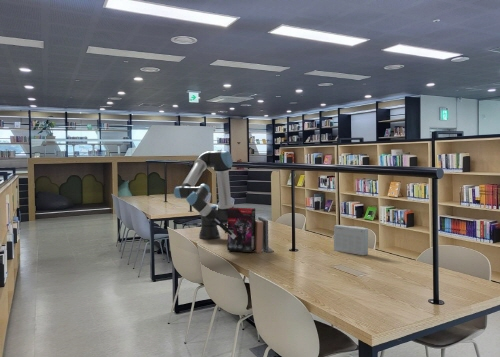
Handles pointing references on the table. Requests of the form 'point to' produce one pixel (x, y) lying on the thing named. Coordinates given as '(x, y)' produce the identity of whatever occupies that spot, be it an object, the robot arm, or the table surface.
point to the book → (258, 235)
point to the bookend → (265, 236)
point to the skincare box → (351, 239)
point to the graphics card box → (241, 229)
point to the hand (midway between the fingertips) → (234, 237)
